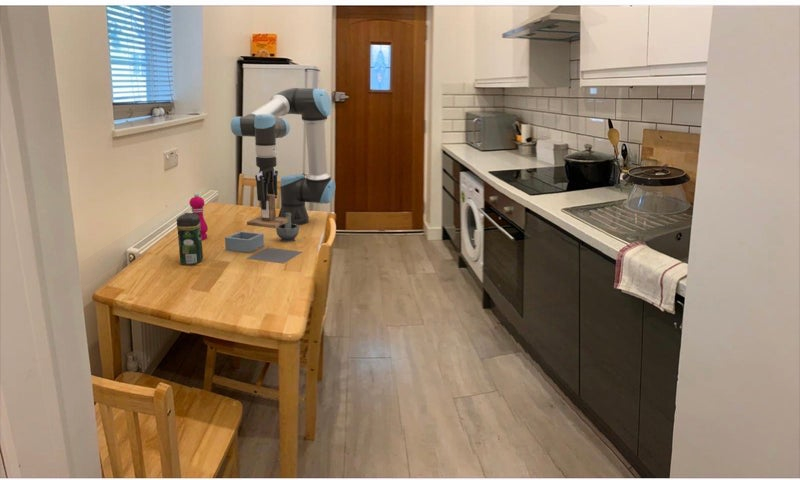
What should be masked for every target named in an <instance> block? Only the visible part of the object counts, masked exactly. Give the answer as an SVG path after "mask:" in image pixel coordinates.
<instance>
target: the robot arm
mask: <svg viewBox="0 0 800 480" xmlns="http://www.w3.org/2000/svg"><path fill="white" fill-rule="evenodd" d="M331 101H332V100H331V97H330V94H329V92H327V90H325V89H322V88H312V87H311V88H309V87H308V88H307V87H305V88H304V87H302V88H301V87H300V88H299V87H293V88H291V87H290V88H286V89H284V90H282V91H280V92H277V93H276V94H274V95H273V96H271V97H270V99H269V101H267V102H266V103H264V104H263V105H261V106H260V107H258V108H255V110H252V111H251V112H250V113H249V114H246V115H244V116H240V115H239V116H234V117H232V119H231V121H230V130H231V133H232V134H234V136H239V137H253V138H254V140H255V142H254V143H255V145H254V147H255V156H256V157H255V164H256V167H257V168H259V171H258V174H255V175H254V178H255V182H256V197H257V201H258V202H260V210H261V209H262V217H264V218H269V203H268V201H267V194H275V199H277V198H278V174H279V171H278V170H275V169H274V168H275V167H277V157H276V155H277V148H276V147H277V146H276V144H277V143H276V139H282V138H284V137H286V136H287V135H288V134H289V133H290V129H291V127H290V123H289V121H288V120H287V119H285V118H282V117H283V116H286V115H301V121H302V122H304V123H305V136H306V149H307V159H308V160H307V163H308V165H307V166H308V174H307V175H305V174H302V173H301V174H300V173H299V174H290V175H285V176H282V177H281V178H280V185H279V187H280V189H279V190H280V210H279V213H278V216H277V217H286V216H285V213H291V224H296V225H299V226H301V225H305V224H308V223H309V222H310V217H309V214H308V211H307V208H306V203H314V204H329V203H331V202H332V200H333V198H334V196H335V193H336V192H335V191H336V181H335V180H333V179H331V177H332V176H331V174H330V173H329V172H328V166H327V165H328V164H327V162H328V161H327V150H326V147H327V146H326V131H325V129H326V128H325V122H326V121H327V120H328V117H329V116H330V115H331V112H332V102H331Z"/></svg>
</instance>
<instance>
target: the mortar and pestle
mask: <svg viewBox="0 0 800 480" xmlns="http://www.w3.org/2000/svg"><path fill="white" fill-rule="evenodd" d="M285 216H286V217H285V218H290V221H288V222H287V223H285V224H283V225H281V226H279V227H277V228H275V231H276V235H277V236H278V238H280V241H281V242H285V243H286V242H287V243H288V242H289V243H291V242H296V238H298V237H297V236H298V235H299V230H300V225H296V224H291V213H285Z"/></svg>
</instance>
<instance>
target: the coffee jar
mask: <svg viewBox="0 0 800 480" xmlns="http://www.w3.org/2000/svg"><path fill="white" fill-rule="evenodd" d="M176 229H177V238H178V249H179V262H180V264H181V265H187V266H194V265H198V264H200V263H201V262H203V260H204V259H203V258H204V253H203V251H204V250H203V240H201V227H200V217H199V215H197V214H196V213H193V212H184V213H183V214H181V215H179V216H178V217H177V218H176Z"/></svg>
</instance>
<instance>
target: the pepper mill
mask: <svg viewBox="0 0 800 480" xmlns="http://www.w3.org/2000/svg"><path fill="white" fill-rule="evenodd" d="M189 206H190V207H191V208H190V209H191V213H196V214H197V215H199V217H200V227H201V240H202V241H203V240H207V239H208V229H209V228H208V227H209V226H208V225H207V222H206V220H205V218H204V217H205V216H204V211H205V210H204V209H205V208H204V206H205V199H203V197H201V196H200V195H199V193H197V192H196V193H194V196H193V197H191V198H190V200H189Z"/></svg>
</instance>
